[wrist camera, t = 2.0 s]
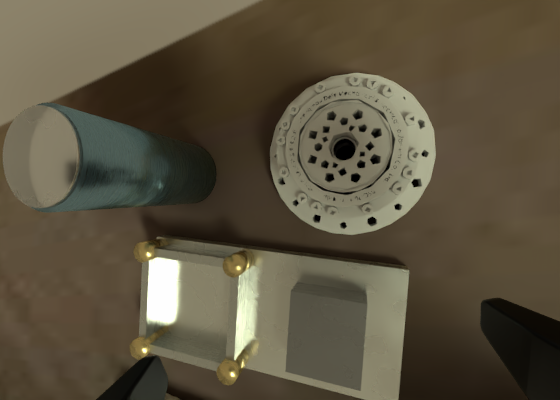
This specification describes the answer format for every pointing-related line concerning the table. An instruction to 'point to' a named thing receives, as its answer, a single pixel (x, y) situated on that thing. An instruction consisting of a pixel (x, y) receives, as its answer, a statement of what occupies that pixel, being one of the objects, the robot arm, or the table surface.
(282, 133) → the mechanical component
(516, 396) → the table surface
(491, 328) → the robot arm
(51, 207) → the cylinder
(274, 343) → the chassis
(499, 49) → the table surface
